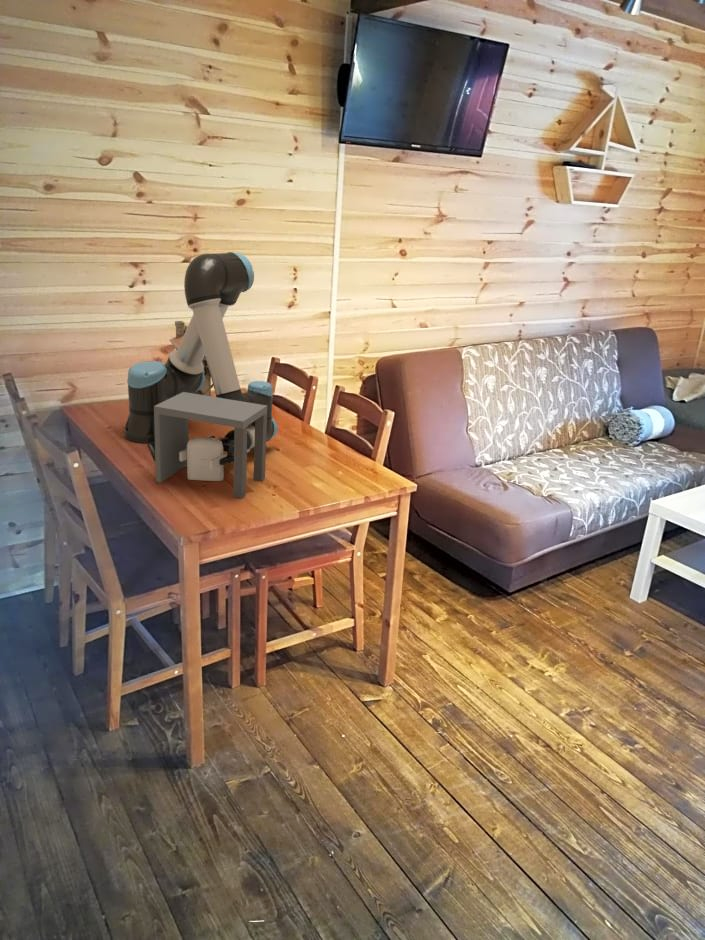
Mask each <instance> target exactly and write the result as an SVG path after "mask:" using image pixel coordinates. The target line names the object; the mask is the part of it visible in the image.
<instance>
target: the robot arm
mask: <svg viewBox="0 0 705 940" xmlns="http://www.w3.org/2000/svg"><path fill="white" fill-rule="evenodd" d="M254 281H255V272H254V270H253V265H252V263H251V261H250V260H249V258H248V257H247V256H245V255H244V254H242V253H240V252H233V251H228V252H221V253H217V252H216V253H202V254H199V255H197V256H196V257H194V258H193V259H192V260H191V261H190V262H189V264H188V266H187V267H186V270H185V274H184V286H183V287H184V296H185V300H186V304H187V308H189V309H190V310H192V312H193V314H192V316H191V317H190V320H189V323H188V325H187V329H186V332H185V334H184V336H183V338H182V340H181V343H180V345H179V347H178V349H177V350H176V349H175V350H173V351H171V352H170V354H169V356H168V358H167V361H166V362H165V363H163V362H161V361H155V360H149V361H141V362H138V363H134V364H133V365H132V366H130V367H129V369H128V372H127V380H126V381H127V390H128V393H127V394H128V416H127V419H126V422H125V426H124V429H123V432H124V437H125V439H127V440H128V441H131V442H134V443H140V444H148V443H153V442H155V429H154V406H155V405H157V404H160V403H162V402H164V401H166V400H168V399H170V398H172V397H174V396H176V395H178V394H180V393H182V392H187V393H195V392H197V391H199V390H200V389H201V388H202V386H203V384H204V381H205V376H204V373H205V372H204V365H203V363H202V360H203V358H204V356H205V357H206V361H207V364H208V368H209V371H210V375H211V382H212V384H213V389H214V393H215V397H218V398H224V399H230V400H236V401H242V402H248V403H254V404H261V405H267V433H266V443H267V442H269V441H270V440H271V439H273V438H274V437H275V436H276V435H277V433H278V429H279V428H278V424H277V422H276V419H275V418H273V397H274V395H273V386H272V384H271V383H270V382H268V381H263V380H255V381H254V380H253V381H251V382H249V383H248V386H247V389H246V390H247V391H245V392H242V390H241V386H240V382H239V377H238V373H237V370H236V366H235V363H234V359H233V354H232V351H231V347H230V343H229V339H228V336H227V331H226V328H225V324H224V321H223V320H224V316H225V314H226V312H227V311H228V309H229V307H232V306H234V305H236V303H237V301H238V300H239V298H240V295H241V294H242V293H245V292H247V291H248V290H250V289H251V288H252V286H253V284H254ZM208 438H213V439H217V438H216V436H215V435H211V436H209V437H208ZM217 440H220V441H222V445H223V454H222V455H220V456H218V457H216V458H214V459H212V460H210V470H214V469H216V468H218V467H220V466H222V465H223V466H224V465H227V464H232V463H234V429H232V430H231V429H230V431H228V432H227V433H226V434H225V436H224V437H220V438H218V439H217ZM254 444H255V421H254V422H253V423H251V424H250V425H248V426H247V456H248V455H250V453H251V449H254ZM224 452H226V453H224ZM186 459H187V449H185V450H183V451H180V452H179V461H181V462H182V461H184V460H186Z"/></svg>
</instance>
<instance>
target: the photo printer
mask: <svg viewBox="0 0 705 940" xmlns="http://www.w3.org/2000/svg"><path fill="white" fill-rule="evenodd" d="M222 454H224V451H223V445H222V441H220V440H217V438H215V439H213V438H209V437H207V436H204V437H203V436H202V437H201V436H199V437H193V438H190V439H189V441H188V444H187V465H186V473H187V477H186V478H187V480H189V481H191V480H192V481H204V482H205V481H206V482H207V481H209V482H222V481H223V480H224V477H225V476H224V465H222V466H220V467H218V468H216V469H214V470H210V460H212V459H214V458H216V457H218V456H220V455H222Z"/></svg>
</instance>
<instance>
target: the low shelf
mask: <svg viewBox="0 0 705 940" xmlns="http://www.w3.org/2000/svg"><path fill="white" fill-rule="evenodd" d="M190 420H191V421H196V422H203V423H209V424H214V425H219V426H225V427H231V428H234V429H233V430H234V462H233V486H232V487H233V497H232V498H235V497H238V498H237V499H240V498H242V499H244V496H245V495H247V494H246V493H247V458H248V457H247V456H248V455H247V426H248V425H250V424H251V423H253V422H254V421H255V444H254V447H253V450H254V452H253V453H254V455H253V480H254V481H258V482H263V481H264V480H265V479H266V459H267V456H266V455H267V442H266V433H267V405H261V404H254V403H248V402H242V401H236V400H230V399H224V398H218V397H216V396H212V395H211V396H205V395H199V394H193V393H187V392H182V393H180V394H178V395H176V396H174V397H172V398H170V399H168V400H166V401H164V402H162V403H160V404H157V405H155V406H154V429H155V461H154V463H155V483H159V484H160V483H163V482H164V481H166V480H168V479H169V478H171V476H173V475H174V474H176V473H177V472H179V471H181V470H182V469H184V468H185V467H187V459H186V460H184V461H182V462H181V461H179V452H180V451H183V450H185V449H187V444H188V441H189V438H190V437H189V421H190ZM245 497H246V496H245Z"/></svg>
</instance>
